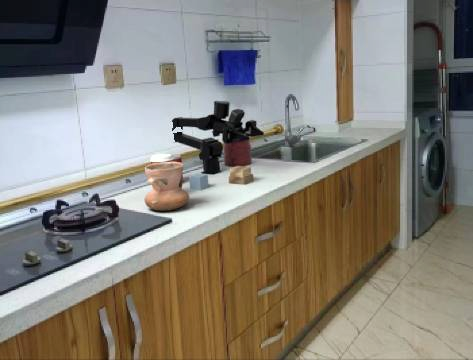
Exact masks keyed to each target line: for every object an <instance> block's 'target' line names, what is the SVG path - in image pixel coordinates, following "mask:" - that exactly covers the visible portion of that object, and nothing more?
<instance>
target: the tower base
mask: <svg viewBox="0 0 473 360" xmlns="http://www.w3.org/2000/svg"><path fill="white" fill-rule="evenodd" d="M254 181H255V179H254V174H252V173H251V175H249V176H246V177H244V178H240V177H230V176H228V184H231V185H232V184H233V185H241V186H244V185H248V184H249V183H252V182H254Z"/></svg>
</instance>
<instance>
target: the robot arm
mask: <svg viewBox="0 0 473 360" xmlns="http://www.w3.org/2000/svg"><path fill="white" fill-rule="evenodd" d="M230 104H231V102H230V101H227V100H224V101H223V100H215V101H214V102H213V113H212V114H209V115H207V116H203V117H182V116H180V117H179V116H177V117H174V118H172V120H171V121H172V122H173V128H172V131H173V130H174V129H175V128H176V127H181V129H182V130H184V128H185V127H186V128H196V129H198V130H200V131H204V132H205V131H211V130H212V131H211V133H212V136H213V137H207V138H202V139H201V138H199V137H195V136H192V135H189V134H186V133H183V131H182V132H177V133H173V134H174V140H175V142H174V143H178V144H181V145H184V146H187V147H191V148H194V149H197V150H198V151H200V152H199V153H198V158H199V160H200V161H202V168H203V169H202V170H203V171H201V172H200V174H206V175H215V174H217V173H221V172H222V169H221V165H220V164H221V163H220V160H219V159H220V158H221V157H222V153H223V152H224V148H223V146H224V145H223V144H224V143H226V144H229V143H235V142H240V141H245V140H249V137H250V138H254V137H260V136H264V135H265V132H264V131H262V130H261V129H260V128H258V127H257V121H256V120H254V119H251V120H248V121H246V122H245V124H244V123H243V122H244V121H242V120H243V118H244V117H245V114H246V112H245V111H244V109H240V108H236V109H232V110H231V111H230ZM227 118H228V120H226V119H227ZM243 125H245V126H244V127H243ZM221 134H222V135H221ZM244 134H246V135H244ZM219 136H222V137H221V138H222V139H221V140H222V141H219V138H217V139H215V138H216V137H219ZM222 142H223V144H222Z"/></svg>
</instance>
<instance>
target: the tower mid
mask: <svg viewBox="0 0 473 360" xmlns="http://www.w3.org/2000/svg"><path fill="white" fill-rule="evenodd" d="M251 174H252V166H246V165H244V166H233V167H231V168H229V177H240V178H244V177H246V176H249V175H251Z"/></svg>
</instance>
